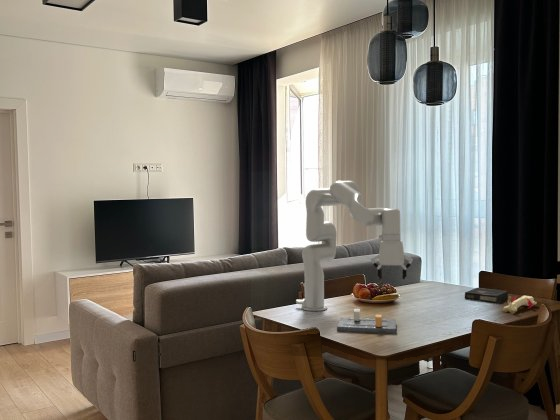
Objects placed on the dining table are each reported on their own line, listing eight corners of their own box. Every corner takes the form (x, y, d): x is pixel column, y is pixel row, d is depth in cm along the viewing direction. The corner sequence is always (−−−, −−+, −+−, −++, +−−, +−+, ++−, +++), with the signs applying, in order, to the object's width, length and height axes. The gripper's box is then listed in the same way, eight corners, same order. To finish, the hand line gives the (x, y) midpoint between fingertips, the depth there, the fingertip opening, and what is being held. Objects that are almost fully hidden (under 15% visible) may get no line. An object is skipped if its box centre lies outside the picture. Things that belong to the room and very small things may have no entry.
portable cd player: (464, 300, 293) (464, 292, 292) (477, 294, 305) (477, 287, 305) (496, 304, 282) (496, 296, 282) (507, 298, 295) (508, 291, 294)
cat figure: (519, 317, 258) (540, 304, 275) (518, 299, 257) (540, 287, 274) (498, 314, 265) (520, 301, 282) (497, 296, 264) (520, 284, 281)
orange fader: (375, 326, 231) (375, 316, 231) (375, 323, 236) (375, 314, 235) (381, 326, 231) (381, 317, 230) (381, 324, 235) (381, 314, 235)
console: (337, 331, 233) (337, 326, 233) (340, 321, 249) (340, 317, 249) (395, 333, 228) (395, 328, 228) (395, 323, 244) (395, 319, 244)
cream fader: (353, 320, 242) (353, 311, 242) (354, 317, 246) (354, 308, 246) (359, 320, 241) (359, 311, 241) (360, 318, 246) (360, 308, 246)
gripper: (369, 238, 233) (370, 279, 234) (412, 238, 228) (412, 280, 229) (371, 237, 240) (372, 276, 241) (413, 237, 236) (413, 277, 236)
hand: (392, 278), depth 235 cm, fingers open, 9 cm apart
